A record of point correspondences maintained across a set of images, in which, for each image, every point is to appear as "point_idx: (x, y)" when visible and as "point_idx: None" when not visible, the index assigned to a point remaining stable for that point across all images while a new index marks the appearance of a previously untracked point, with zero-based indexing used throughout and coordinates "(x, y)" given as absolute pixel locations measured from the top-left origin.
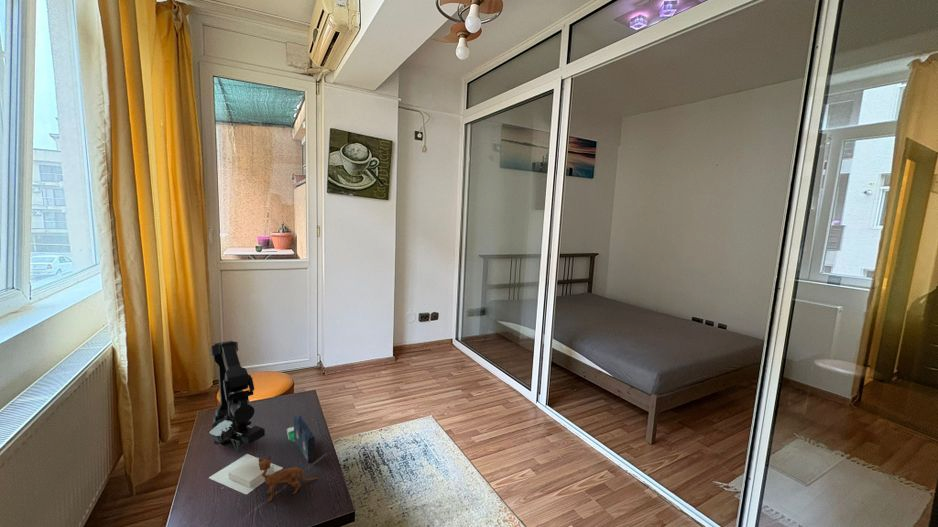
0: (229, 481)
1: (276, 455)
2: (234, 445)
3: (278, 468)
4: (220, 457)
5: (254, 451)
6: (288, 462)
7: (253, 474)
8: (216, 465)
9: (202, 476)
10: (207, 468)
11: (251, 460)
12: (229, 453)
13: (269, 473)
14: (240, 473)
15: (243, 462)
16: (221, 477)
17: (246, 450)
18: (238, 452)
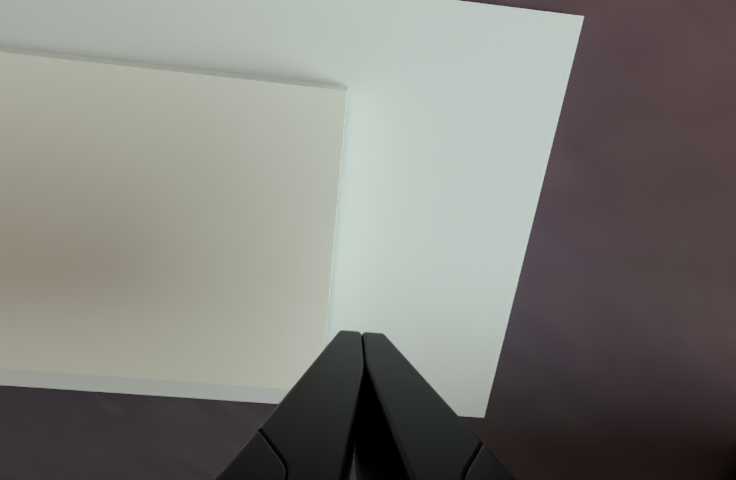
0: (296, 50)
1: None
2: (429, 425)
3: None
4: (704, 315)
5: None
6: (57, 447)
7: (15, 171)
8: (657, 219)
9: (678, 36)
10: (717, 155)
11: (284, 346)
12: (660, 378)
13: None
14: (185, 131)
15: (415, 323)
16: (440, 72)
17: (539, 447)
18: (335, 337)
